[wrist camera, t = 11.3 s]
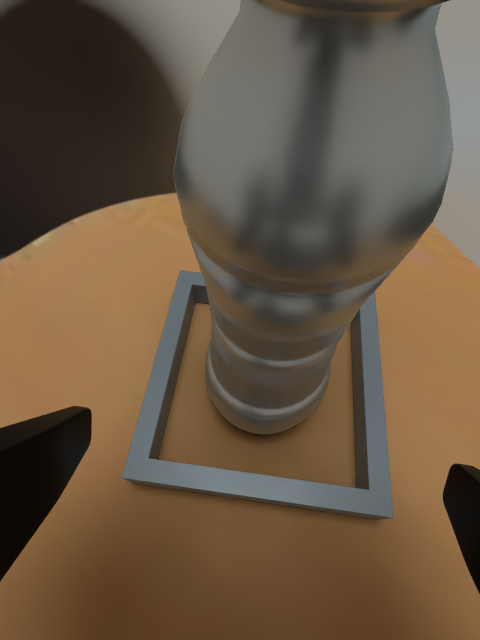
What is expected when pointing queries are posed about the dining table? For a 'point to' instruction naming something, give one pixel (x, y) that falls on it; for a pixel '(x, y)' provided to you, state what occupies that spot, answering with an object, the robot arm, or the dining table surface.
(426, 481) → the dining table surface
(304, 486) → the frame
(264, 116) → the plastic bottle
